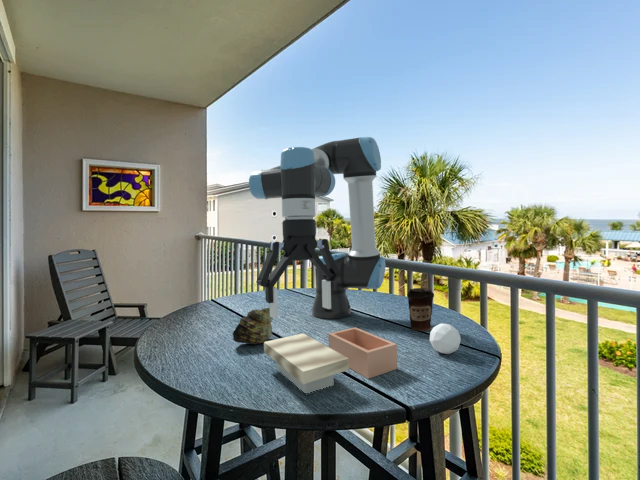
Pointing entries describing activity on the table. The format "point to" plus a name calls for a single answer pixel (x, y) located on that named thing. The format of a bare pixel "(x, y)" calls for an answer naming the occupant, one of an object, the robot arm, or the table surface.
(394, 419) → the table surface
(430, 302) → the coffee cup
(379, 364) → the terracotta dish
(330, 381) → the rubber block
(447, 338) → the geometric ball
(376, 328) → the table surface
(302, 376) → the board
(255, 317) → the seashell
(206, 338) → the table surface
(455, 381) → the table surface
